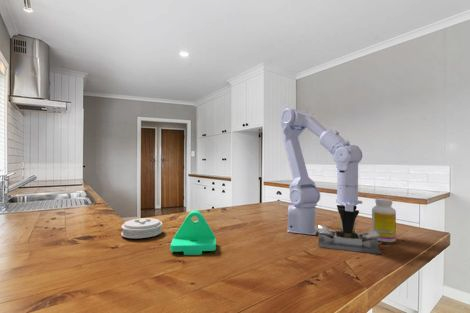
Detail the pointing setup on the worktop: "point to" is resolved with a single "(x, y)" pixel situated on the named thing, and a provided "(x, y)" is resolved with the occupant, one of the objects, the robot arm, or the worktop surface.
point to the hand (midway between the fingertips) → (347, 231)
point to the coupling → (346, 233)
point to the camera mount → (194, 236)
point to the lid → (141, 228)
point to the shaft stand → (349, 241)
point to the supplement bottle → (384, 220)
